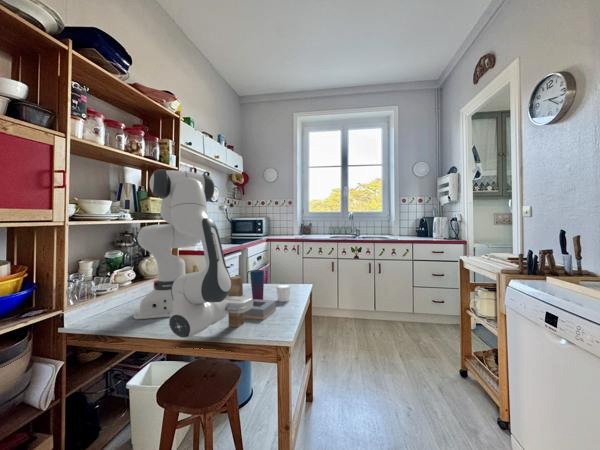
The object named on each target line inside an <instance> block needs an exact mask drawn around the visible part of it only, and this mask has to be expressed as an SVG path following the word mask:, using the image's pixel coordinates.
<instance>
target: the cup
mask: <svg viewBox="0 0 600 450" xmlns="http://www.w3.org/2000/svg"><path fill="white" fill-rule="evenodd" d="M249 275H250V285H251V287H250V288H251V295H252V297H251V298H252V299H259V300H264V287H265V286H264V285H265V282H264V281H265V280H264V279H265V269H252V270H249Z"/></svg>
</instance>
